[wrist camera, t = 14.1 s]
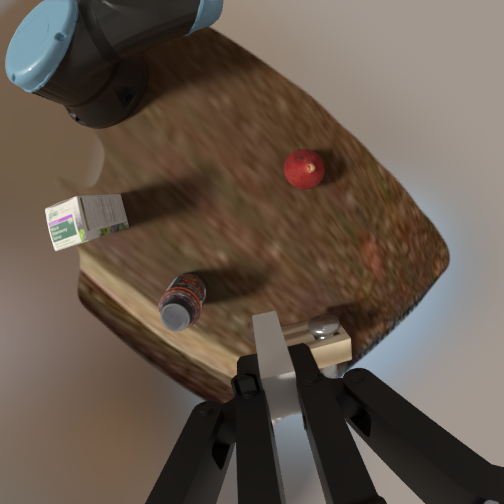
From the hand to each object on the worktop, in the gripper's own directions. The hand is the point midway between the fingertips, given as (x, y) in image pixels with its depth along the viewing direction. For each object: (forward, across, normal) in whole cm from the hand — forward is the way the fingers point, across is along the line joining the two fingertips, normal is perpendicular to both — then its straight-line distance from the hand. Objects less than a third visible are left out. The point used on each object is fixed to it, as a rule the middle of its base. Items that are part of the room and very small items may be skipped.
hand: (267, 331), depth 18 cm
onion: (+28, -10, -10) cm, 32 cm away
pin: (+25, -9, +20) cm, 34 cm away
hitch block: (+28, -6, +17) cm, 33 cm away
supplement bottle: (+28, +11, +5) cm, 31 cm away
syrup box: (+28, +21, -10) cm, 37 cm away
